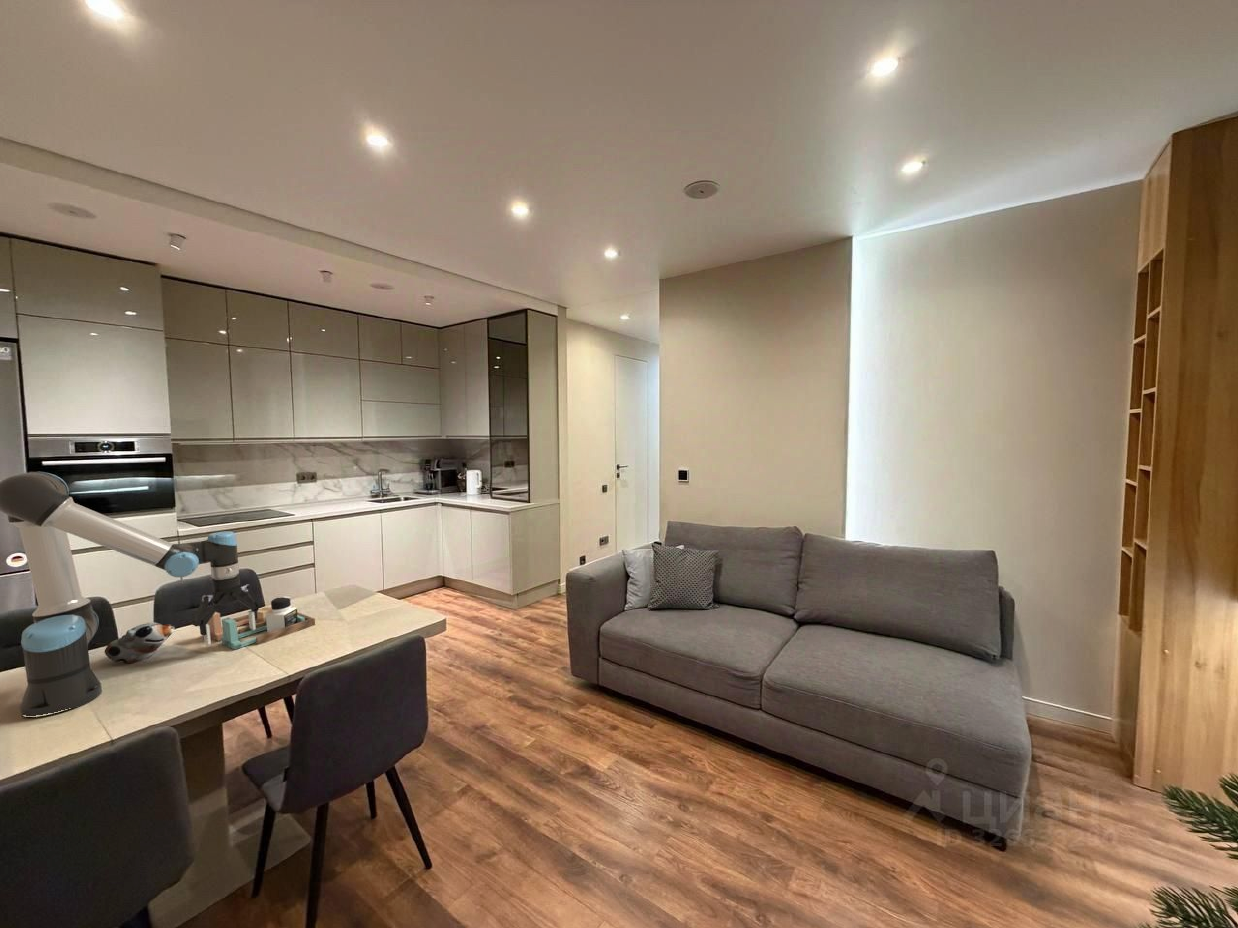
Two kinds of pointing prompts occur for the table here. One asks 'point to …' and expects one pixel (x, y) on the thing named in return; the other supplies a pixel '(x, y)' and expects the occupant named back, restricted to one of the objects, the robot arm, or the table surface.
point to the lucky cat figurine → (138, 643)
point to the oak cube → (262, 614)
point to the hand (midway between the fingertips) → (231, 635)
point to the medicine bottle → (281, 614)
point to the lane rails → (280, 632)
